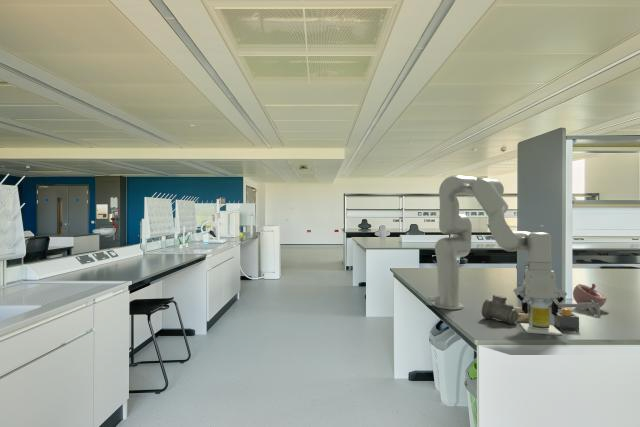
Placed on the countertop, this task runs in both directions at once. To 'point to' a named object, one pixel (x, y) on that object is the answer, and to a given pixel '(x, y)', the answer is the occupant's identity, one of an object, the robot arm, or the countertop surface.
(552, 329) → the pad
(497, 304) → the pipe fitting
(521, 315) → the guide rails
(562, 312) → the plunger
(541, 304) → the pill bottle
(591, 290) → the mortar and pestle
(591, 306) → the caliper
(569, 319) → the block
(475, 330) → the countertop surface
